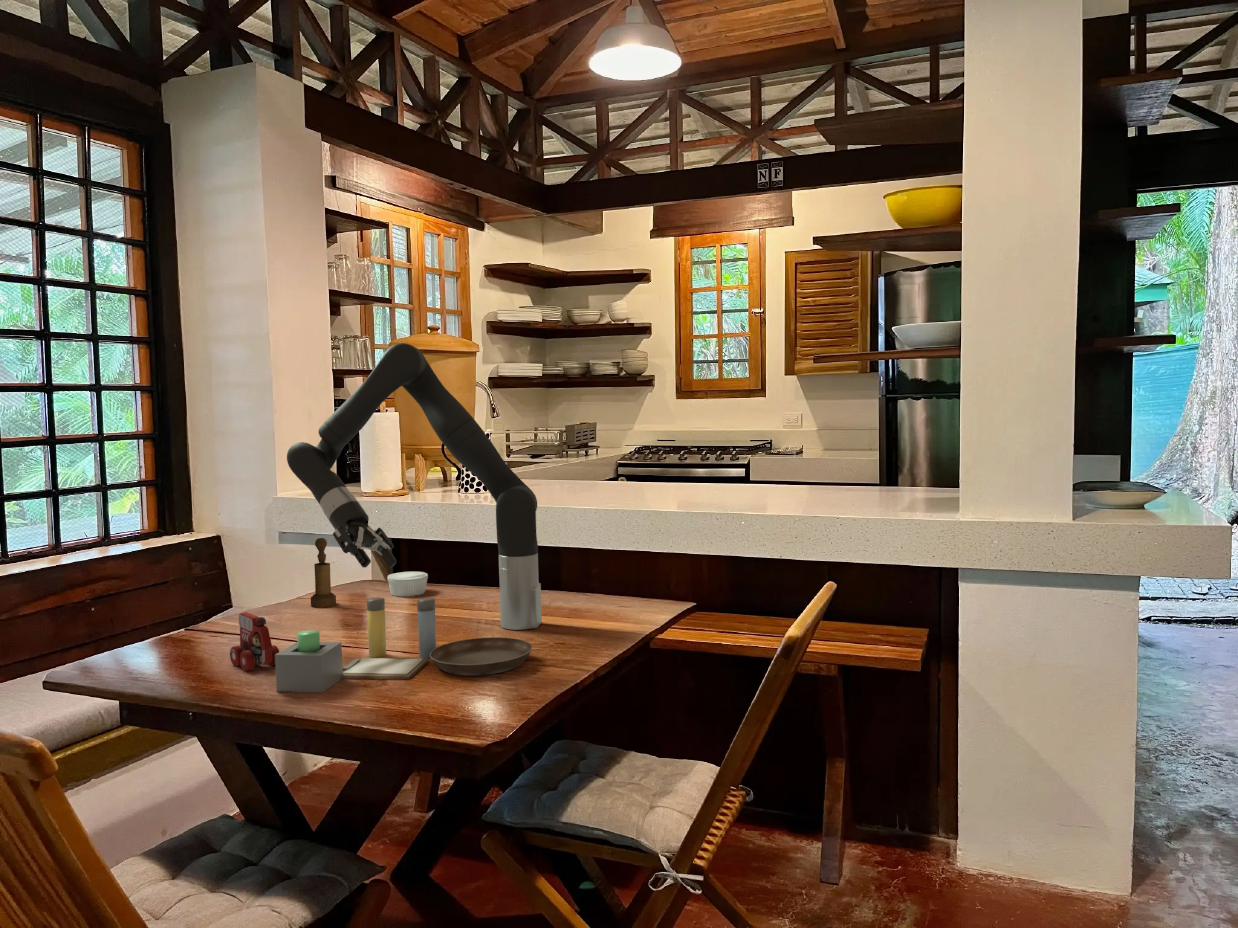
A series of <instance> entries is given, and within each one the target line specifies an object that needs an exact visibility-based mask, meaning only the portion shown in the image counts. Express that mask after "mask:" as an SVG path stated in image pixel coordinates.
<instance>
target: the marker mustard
mask: <svg viewBox="0 0 1238 928" xmlns="http://www.w3.org/2000/svg"><path fill="white" fill-rule="evenodd" d="M385 600H386V599H385V598H384V597H371V598H367V599H366V613H367V615H366V617H367V640H368V642H367V643H368V644H367V645H368V658H385V656H387V636H386V635H387V633H386V611H385V610H386V603H385Z"/></svg>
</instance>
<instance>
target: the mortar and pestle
mask: <svg viewBox="0 0 1238 928" xmlns="http://www.w3.org/2000/svg"><path fill="white" fill-rule="evenodd" d="M326 539H327V538H325V537H318V538H317V539H316V540H315V542H314V545H315V547H316V549H317V550H318V554H317V560H318V562H317V563H316V562H315V563H314V567H313V568H314V588H315V590H314V591H315V593H314V594H313V595H312V596H311V597H310V607H312V608H329V607H333V606H334V607H335V606H336V605H337V596H336V594H335V593H334V592H332V587H331V583H332V582H331V563H330V562H326V560H327V554H326V553H325V550H326V547H327V545H328V541H327V540H326Z"/></svg>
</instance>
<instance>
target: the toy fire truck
mask: <svg viewBox="0 0 1238 928" xmlns="http://www.w3.org/2000/svg"><path fill="white" fill-rule="evenodd" d="M266 620H267V619H266V618H265V617H263V616H258V615H256V614H252V613H250V612H247V611H245V612H241V613H239V615H238V625H239V645H235V646H232V647H231V648H230V650H229V657H230V662H231V664H232V665H233V667H238V666H241V669H242V671H244V672H249V671H252V670H254V669H255V667H256V666H257V665H261V664H263V665H269V666H275V655H276V654H277V653H279V652H280V649H279V647H278V646H276V645H274V644H272V640H271V636H270V631H269V627H268V626H266V625H267V621H266Z"/></svg>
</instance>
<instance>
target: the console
mask: <svg viewBox="0 0 1238 928" xmlns="http://www.w3.org/2000/svg"><path fill="white" fill-rule="evenodd" d="M342 647H343V646H342V642H339V641H335V642H334V641H332V642H331V641H320V650H318V651H317V652H298V642H294V643H293V644H292V645H290V646H287V647H286V648H284V649H282V650H281V651H279V653H277V654H276V655H275V665H274V667H275V681H276V685H275V686H276V692H277V691H288V692H289V691H291V692H289V693H324V692H325V691H327V690H328V689H330V688H331V687H332V686H333V685H335V684H336V683H337V682H339V681H341V680H342V679H343V678H342V675H343V667H344V666H343V651H342V650H343V649H342ZM288 692H287V693H288Z"/></svg>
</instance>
